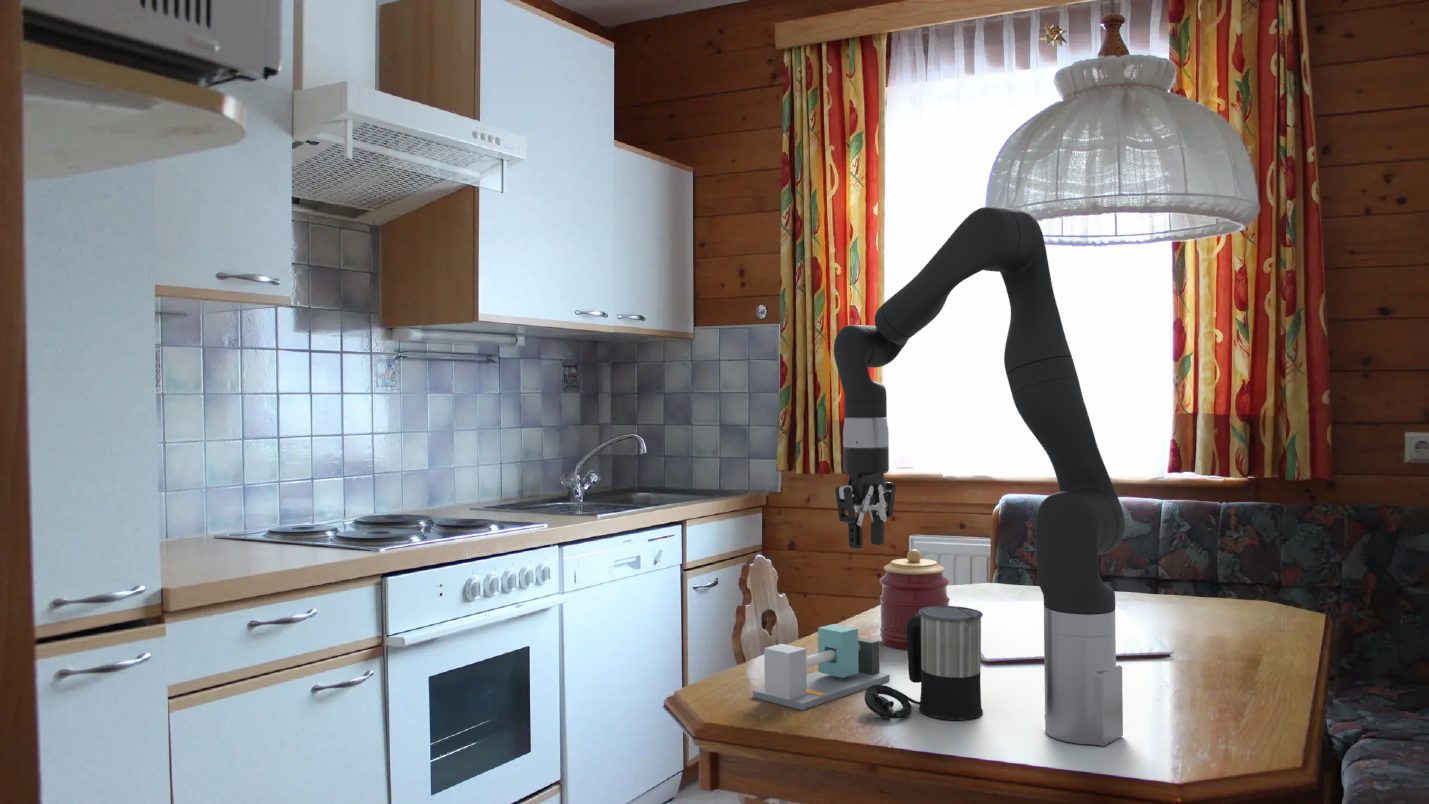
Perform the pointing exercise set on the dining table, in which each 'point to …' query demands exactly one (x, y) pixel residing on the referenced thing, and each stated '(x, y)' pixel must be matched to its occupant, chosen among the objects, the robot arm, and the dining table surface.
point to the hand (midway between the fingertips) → (866, 545)
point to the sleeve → (839, 649)
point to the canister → (909, 594)
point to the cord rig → (815, 675)
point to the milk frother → (939, 666)
